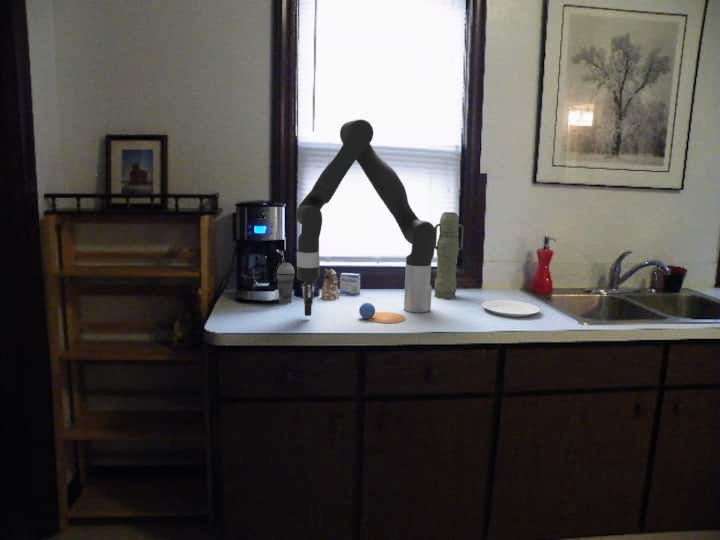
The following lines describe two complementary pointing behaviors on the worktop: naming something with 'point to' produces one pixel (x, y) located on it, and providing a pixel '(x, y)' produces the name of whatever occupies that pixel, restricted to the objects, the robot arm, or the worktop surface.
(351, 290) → the medicine box
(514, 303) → the plate
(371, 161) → the robot arm
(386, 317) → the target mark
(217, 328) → the worktop surface
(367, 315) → the ball
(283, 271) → the beverage cup
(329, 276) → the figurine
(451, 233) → the thermos
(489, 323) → the worktop surface
